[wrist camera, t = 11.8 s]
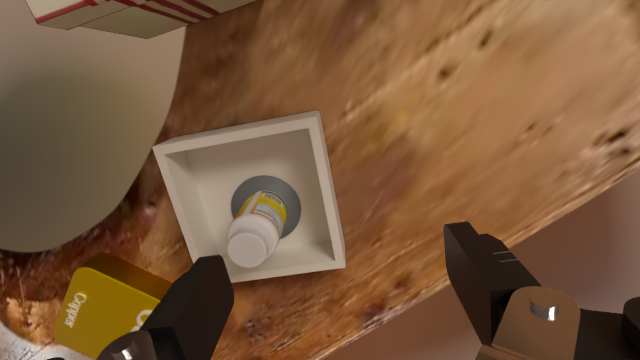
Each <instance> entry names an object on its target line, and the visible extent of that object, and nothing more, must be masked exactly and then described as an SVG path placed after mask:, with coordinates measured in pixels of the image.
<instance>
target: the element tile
mask: <svg viewBox="0 0 640 360" xmlns="http://www.w3.org/2000/svg"><path fill="white" fill-rule="evenodd" d="M172 284H173V283H171V282H169V281H167V280H165V279H162V278H160V277H158V276H156V275H154V274H152V273H150V272H148V271H146V270H144V269H141V268H139V267H137V266H135V265H133V264H131V263H129V262H127V261H125V260H122V259H120V258H118V257H116V256H114V255H112V254H109V253H104V252H101V253H97V254H96V255H95V256H93V257H92V258H91V259H89V260H88V261H87V262H86V263H84V264H83V265H82V266H80V267H79V268H78V269H77V270H76V271H75V272H74V274H73V276H72V279H71V282H70V285H69V287H68V290H67V293H66V296H65V299H64V301H63V304H62V307H61V310H60V313H59V315H58V318H57V321H56V324H55V327H54V329H53V334H54V338H55V340H56V341H57V342H58V343H60V344H62V345H64V346H66V347H68V348H70V349H73V350H75V351H77V352H79V353H82V354H84V355H86V356H89V357H91V358H93V359H96V360H97V357H98V356H99V354H100V353H101V352H102V350H103V349H104V348H105V347H106V346H108V345H109V344H110V343H111V342H113V341H114V340H116V339H117V338H119V337H121V336H123V335H125V334H127V333H130V332H133V331H138V330H139V329H140V327H141V326H142V325H143V323H144V322H145V321H146V319H147V318H148V317H149V315H150V314H151V312H152V311H153V310H154V308H155V307H156V306H157V304H158V303H160V300H161V299H162V298H163V296H164V295H165V294H167V293H166V292H167V291H168V289H169V288H170V287H171V285H172Z"/></svg>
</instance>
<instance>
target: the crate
mask: <svg viewBox="0 0 640 360" xmlns="http://www.w3.org/2000/svg"><path fill="white" fill-rule="evenodd" d="M152 148H153V151H154V154H155V157H156V160H157V162H158V165H159V168H160V171H161V174H162V176H163V179H164V182H165V185H166V188H167V191H168V193H169V196H170V199H171V202H172V205H173V207H174V210H175V213H176V216H177V219H178V221H179V224H180V227H181V230H182V233H183V236H184V238H185V241H186V244H187V247H188V250H189V252H190V255H191V258H192V261H193V264H194V263H195V261H196V260H197V259H198V258H199V257H204V256H211V255H221V256H222V257H223V259H224V262H225V265H226V268H227V272H228V275H229V278H230V281H231V283H234V282H242V281H249V280H257V279H264V278H271V277H279V276H286V275H293V274H301V273H308V272H315V271H323V270H330V269H338V268H345V244H344V239H343V233H342V228H341V223H340V217H339V212H338V207H337V201H336V196H335V191H334V185H333V180H332V175H331V170H330V164H329V159H328V154H327V148H326V143H325V138H324V132H323V127H322V122H321V116H320V111H319V110H315V111H310V112H305V113H299V114H294V115H289V116H283V117H278V118H273V119H267V120H262V121H257V122H251V123H246V124H241V125H235V126H230V127H225V128H219V129H214V130H209V131H203V132H198V133H193V134H187V135H182V136H177V137H174V138H171V139H169V140H167V141H165V142H162V143H160V144H158V145H155V146H153V147H152ZM258 191H271V192H274V193H276V194H278V195H279V196H280V197H281V198H282V199H283V200H284V202H285V204H286V206H287V218H286V221H285V224H284V228H283V231H282V234H281V237H280V240H279V244H278V247H277V249H276V251H275V252H274V254H273V255H272V256H271V257H269V258H268V259H266V260H264V261H263V262H262V263H261V264H260V265H258V266H256V267H253V268H244V267H241V266H239V265H237V264H235V263H234V262H233V261H232V260H231V259H230V257H229V255H228V252H227V246H228V243H227V231H228V228H229V226H230V224H231V223H232V221H233V220H234V218H235V217H236V215H237V214H238V212H239V211H240V209H241V208H242V206H243V204H244V203H245V201H246V200H247V199H248V197H249V196H250V195H252V194H253V193H255V192H258Z"/></svg>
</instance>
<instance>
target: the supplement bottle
mask: <svg viewBox="0 0 640 360" xmlns="http://www.w3.org/2000/svg"><path fill="white" fill-rule="evenodd" d="M286 218H287V206H286V204H285V202H284V200H283V199H282V198H281V197H280V196H279V195H278V194H276V193H274V192H271V191H258V192H255V193H253V194H252V195H250V196H249V197H248V199H247V200H246V201H245V203H244V204H243V206H242V208H241V209H240V211H239V212H238V214H237V215H236V217H235V218H234V220H233V221H232V223H231V224H230V226H229V228H228V231H227V243H228V246H227V252H228V255H229V257H230V259H231V260H232V261H233V262H234V263H235V264H237V265H239V266H241V267H244V268H253V267H256V266H258V265H260V264H261V263H262V262H263V261H264V260H266V259H268V258H269V257H271V256H272V255H273V254H274V252H275V251H276V249H277V247H278V244H279V240H280V237H281V234H282V231H283V228H284V224H285V221H286Z"/></svg>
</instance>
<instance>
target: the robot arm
mask: <svg viewBox="0 0 640 360" xmlns="http://www.w3.org/2000/svg"><path fill="white" fill-rule="evenodd" d="M444 243H445V258H446V268H447V272H448V276H449V279H450V282H451V284H452V286H453V288H454V290H455V292H456V294H457V296H458V298H459V300H460V302H461V304H462V305H463V307H464V309H465V311H466V313H467V315H468V317H469V319H470V321H471V323H472V325H473V327H474V329H475V331H476V333H477V335H478V337H479V339H480V341H481V343H482V346H481V348H480V350H479V352H478V355H477V357H476V359H475V360H640V297H636V298H632V299H630V300H628V301H627V302H626V303H625V305H624V309H623V314H618V313H609V312H599V311H592V310H585V309H581V308H579V307H578V305H577V304H576V303H575V302H574V301H573V300H572V299H571V298H570V297H568V296H566V295H565V294H563V293H561V292H559V291H556V290H553V289H550V288H546V287H542V286H541V285H540V284H539V283H538V282H537V280H536V279H535V278H534V277H533V276H532V275H531V274H530V273H529V271H528V270H527V269H526V268H525V267H524V266H523V265H522V264H521V263H520V261H519V260H517V258H516V257H515V256H514V255H513V254H512V253H511V252H510V251H509V249H508V248H507V247H506V246H505V245H504V244H503V242H502V241H500V240H499V239H497V238H495V237H493V236H491V235H489V234H480V235H478V233H477V232H476V231H475V230H474V228H473V227H472V226H471V225H470V223H469V222H467V221H466V222H459V223H451V224H445V225H444ZM166 293H167V294H165V295H164V296H163V298H162V299H161V300H160V303H158V304H157V306H156V307H155V308H154V310H153V311H152V312H151V314H150V315H149V317H148V318H147V319H146V321H145V322H144V323H143V325H142V326H141V327H140V329H139V330H138V331H133V332H130V333H127V334H125V335H123V336H121V337H119V338H117V339H116V340H114V341H113V342H111V343H110V344H109V345H108V346H106V347H105V348H104V349H103V350H102V352H101V353H100V354H99V356H98V357H97V360H210V359H211V357H212V354H213V352H214V350H215V347H216V345H217V343H218V340H219V338H220V336H221V333H222V331H223V329H224V326H225V324H226V322H227V319H228V317H229V315H230V312H231V310H232V307H233V304H234V291H233V287H232V284H231V281H230V278H229V275H228V272H227V268H226V265H225V262H224V259H223V257H222V256H221V255H211V256H204V257H199V258H198V259H197V260H196V261H195V263H194V264H193V266H192V267H191V269H190V270H189V271H188V272H186V273H185V274H183V275H182V276H181V277H180V278H178V279H177V280H176V281H175V282H174V283H173V284H172V285H171V287H170V288H169V289H168V291H167V292H166ZM47 360H65V359H63V358H59V357H57V358H51V359H47Z"/></svg>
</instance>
